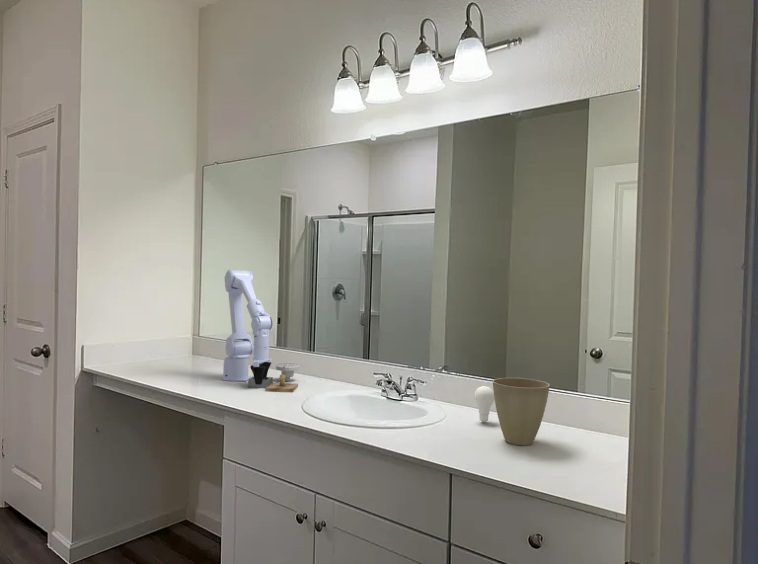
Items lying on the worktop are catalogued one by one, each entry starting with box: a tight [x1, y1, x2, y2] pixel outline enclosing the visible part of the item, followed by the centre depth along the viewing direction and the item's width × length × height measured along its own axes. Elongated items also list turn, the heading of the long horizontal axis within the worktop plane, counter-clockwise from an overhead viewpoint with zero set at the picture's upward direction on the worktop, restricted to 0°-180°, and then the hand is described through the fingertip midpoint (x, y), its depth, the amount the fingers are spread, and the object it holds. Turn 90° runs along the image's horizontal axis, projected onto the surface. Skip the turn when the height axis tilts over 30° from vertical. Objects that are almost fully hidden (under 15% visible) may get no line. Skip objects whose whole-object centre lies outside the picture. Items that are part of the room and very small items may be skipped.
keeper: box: [265, 374, 299, 393], centre depth 209 cm, size 10×10×5 cm
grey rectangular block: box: [247, 375, 274, 389], centre depth 213 cm, size 8×6×3 cm
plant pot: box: [492, 377, 550, 446], centre depth 150 cm, size 15×15×16 cm
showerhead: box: [275, 362, 300, 383], centre depth 224 cm, size 9×7×10 cm
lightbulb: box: [473, 385, 495, 424], centre depth 169 cm, size 6×6×11 cm
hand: (260, 382), depth 213 cm, fingers closed on grey rectangular block, 5 cm apart
